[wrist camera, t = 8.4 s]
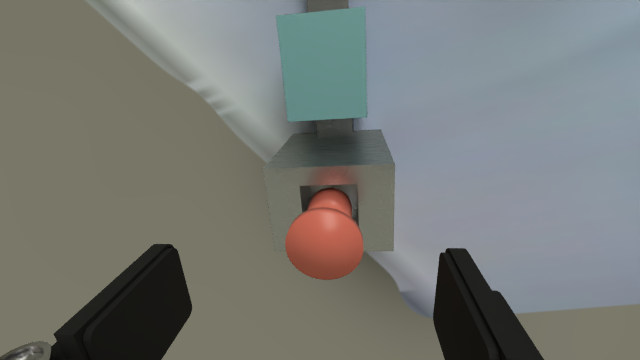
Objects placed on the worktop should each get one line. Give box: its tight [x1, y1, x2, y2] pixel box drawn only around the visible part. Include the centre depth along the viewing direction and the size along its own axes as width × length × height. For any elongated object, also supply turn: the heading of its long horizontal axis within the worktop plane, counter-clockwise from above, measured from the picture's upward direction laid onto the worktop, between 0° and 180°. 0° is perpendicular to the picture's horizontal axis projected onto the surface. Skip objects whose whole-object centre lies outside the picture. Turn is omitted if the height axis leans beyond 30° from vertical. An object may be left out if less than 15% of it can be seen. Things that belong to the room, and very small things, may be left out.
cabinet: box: [263, 130, 395, 251], centre depth 24 cm, size 8×6×10 cm
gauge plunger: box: [285, 188, 363, 280], centre depth 17 cm, size 4×4×5 cm
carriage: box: [276, 7, 367, 122], centre depth 21 cm, size 5×6×8 cm
